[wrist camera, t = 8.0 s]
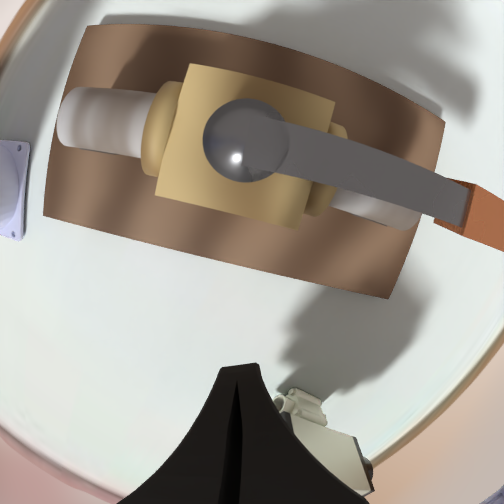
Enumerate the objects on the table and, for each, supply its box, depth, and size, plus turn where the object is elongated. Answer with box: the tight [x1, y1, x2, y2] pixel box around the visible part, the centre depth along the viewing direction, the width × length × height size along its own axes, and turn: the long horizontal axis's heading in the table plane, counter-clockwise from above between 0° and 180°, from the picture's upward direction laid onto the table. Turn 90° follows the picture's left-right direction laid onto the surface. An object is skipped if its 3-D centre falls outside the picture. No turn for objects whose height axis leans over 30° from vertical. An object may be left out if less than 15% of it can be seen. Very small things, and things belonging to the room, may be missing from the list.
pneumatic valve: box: [272, 388, 375, 497], centre depth 19 cm, size 6×12×12 cm, turn 51°
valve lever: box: [203, 98, 504, 252], centre depth 10 cm, size 15×3×2 cm, turn 78°
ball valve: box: [43, 24, 445, 299], centre depth 13 cm, size 26×14×7 cm, turn 75°
